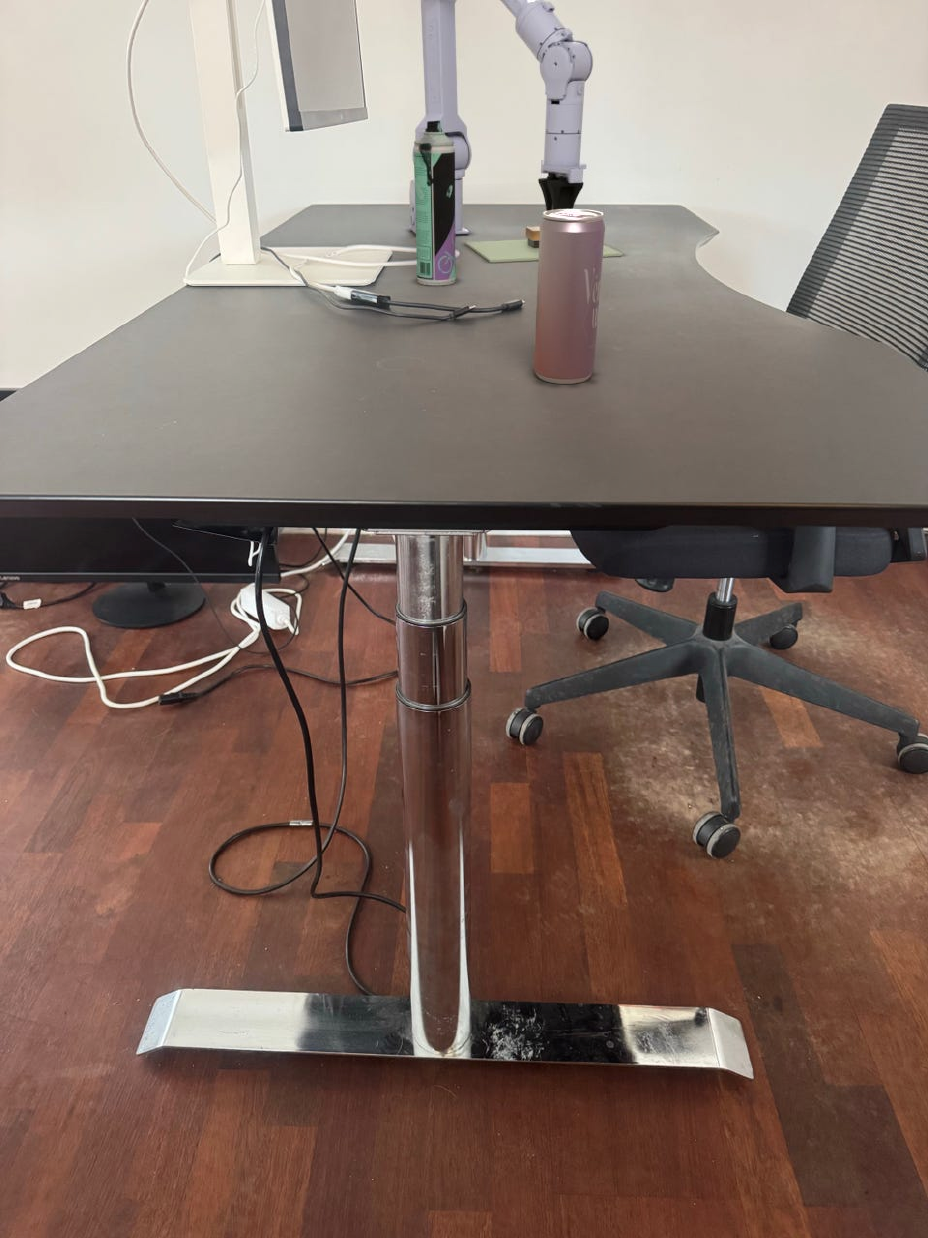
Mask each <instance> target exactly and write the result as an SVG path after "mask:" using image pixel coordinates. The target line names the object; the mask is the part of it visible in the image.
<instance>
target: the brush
mask: <svg viewBox="0 0 928 1238" xmlns="http://www.w3.org/2000/svg"><path fill="white" fill-rule="evenodd" d="M552 210H553V205H552ZM524 237H525V238H526V239H528V243H527V245H529V246H531V247H532V248H539V238H540V226H526V227H525V236H524Z"/></svg>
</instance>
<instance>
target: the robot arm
mask: <svg viewBox="0 0 928 1238" xmlns="http://www.w3.org/2000/svg"><path fill="white" fill-rule="evenodd" d="M457 1H458V0H420V8H421V9H420V13H421V35H422V36H421V37H422V38H421V41H422V59H423V61H422V62H423V63H422V64H423V81H424V82H423V83H424V84H423V86H424V107H425V109H424V110H425V114H424V117H423V118H422V120H421V121H420V122H419V124H417V126H416V127H415V129H414V133H415V134H414V135H415V137H414V138H415V139H414V142H415V141H417V140H418V139H419V138H420V137H421V136H423V135H424V134H423V132H424V131H425V129H427V122H428V121H440V128H442V131H444V132H445V134H444V135H446V136H447V137H448V138H449V139H450V140H451V141H454V144H453V146H454V148H455V235H469V234H470V231H469V230H468V229H466V227H464V210H463V209H464V191H463V190H464V179H463V177H466V171H467V169H468V168H469V167H470V165H471V162H472V157H473V156H472V154H473V153H472V146H471V144H470V141H469V138H468V127H467V124H466V123H465V121H463V119H462V118H461V117H460V115H459V112H458V111H459V110H458V107H459V106H458V81H457V80H458V75H457V73H458V72H457V69H458V68H457V36H456V35H457V34H456V33H457V32H456V31H457V29H456V2H457ZM499 1H500V2H501V3H502V4H503V6H504V7H505V8H506V9H507V10H508V11H509V12H510V13H511V15H512V16H513V17H514V18H515V25H514V27H515V28H514V29H515V33H516V34H517V36H518V37H519V38H520V39H521V41H522V42H523V43H524V45H525V46H526V47H527V49H528V50H529V51H530V52H531V53H532V55H533V56H534V58H535V59H536V60H537V61H538V63H539V72H540V76H541V78H542V80H543V82H544V86H545V90H544V93H545V96H546V100H545V101H546V102H545V104H546V105H545V123H544V124H545V126H544V127H545V128H544V147H543V159H541V163H540V164H541V165H540V173H541V174H547V176H546V177H539V178H538V179H537V180H538V184H539V187H540V189H541V192H542V195H543V199H544V205H545V209H546V210H545V211H549V210H552V205H553V210H557V209H574V208H575V207H574V206H575V204H576V201H577V199H578V197H579V195H580V193H581V191H582V189H583V187H584V181H583V178H584V177H583V176H584V170H586V169H587V164H586V163H583V162H580V160H581V147H582V146H581V145H582V132H583V131H582V129H583V115H584V97H585V85H586V82H587V81H588V80H589V78H590V77H591V75H592V72H593V68H594V57H593V53H592V51H591V49H590V47H589V44H588V43H587V42H586V41H583V40H575V39H574V37H573V35H574V33H573V31H572V30H571V29H570V28H566V27H565V25H564V24H563V22H562V21H561V20H560V19H559V18H558V16H557V15H556V14H555V12H554V11H555V9H556V7H555V5H554V4H553V3H552V2H551V1H545V0H499ZM414 147H415V144H414V143H413V147H412V155H411V156H412V163H413V164H414ZM408 193H409V194H408V195H409V222H410V225H409V230H410V231H411V232H412V233H414V234H415V235H416V215H415V180H414V179H412V180H410V182H409V192H408Z"/></svg>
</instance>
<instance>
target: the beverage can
mask: <svg viewBox="0 0 928 1238" xmlns="http://www.w3.org/2000/svg"><path fill="white" fill-rule="evenodd" d="M604 218H605V213H603V212H602V211H599V210H593V209H584V208H573V209H557V210H549V211H546V210H545V211H543V212H542V220H541V222H540V225H539V227H540V238H539V260H537V262H538V263H537V284H536V285H537V287H536V310H535V331H534V332H535V333H534V355H533V356H534V357H533V370H534V373H535V374H536V376H537V378H538V379H540V380H541V381H544V382H546V383H552V384H557V385H574V384H579V383H580V384H581V383H583V382H585V381H587V380H589V379H590V377H591V376H592V374H593V373H594V370H595V359H596V347H597V346H596V345H597V337H598V336H597V335H598V323H599V322H598V321H599V309H600V297H601V286H602V285H601V284H602V274H603V273H602V272H603V259H604V257H603V249H604V245H605V236H606V234H605V233H606V225H605V221H604Z"/></svg>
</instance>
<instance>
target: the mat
mask: <svg viewBox="0 0 928 1238" xmlns="http://www.w3.org/2000/svg"><path fill="white" fill-rule="evenodd" d="M527 243H528V238H526V239H505V240H504V239H503V240H502V239H501V240H485V241H484V240H483V241H466V242H465V245H466V246H467V247H468V248H470V249H471V250H473V251H474V252H475V253H476V254H478V255H479V256H480V257H482V258H484V259H485V260H486V261H488V262H489V263H492V264H493V263H511V262H512V263H513V262H530V261H531V262H532V261H539V248H532V247H531V246H529V245H527ZM608 257H610V258H611V257H623V253H622V252H621V251H619V250H616V249H614V248H613V247H610V246H608V245H606V244H604V249H603V258H608Z"/></svg>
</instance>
